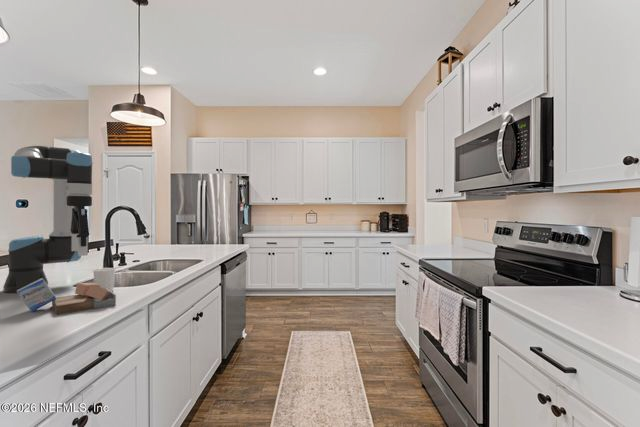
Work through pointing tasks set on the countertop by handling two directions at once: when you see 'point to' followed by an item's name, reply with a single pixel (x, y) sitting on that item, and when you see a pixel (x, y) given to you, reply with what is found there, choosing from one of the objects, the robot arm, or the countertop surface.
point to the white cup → (105, 277)
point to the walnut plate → (72, 304)
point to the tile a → (84, 288)
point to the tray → (105, 301)
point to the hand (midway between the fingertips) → (79, 253)
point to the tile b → (97, 293)
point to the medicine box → (36, 294)
